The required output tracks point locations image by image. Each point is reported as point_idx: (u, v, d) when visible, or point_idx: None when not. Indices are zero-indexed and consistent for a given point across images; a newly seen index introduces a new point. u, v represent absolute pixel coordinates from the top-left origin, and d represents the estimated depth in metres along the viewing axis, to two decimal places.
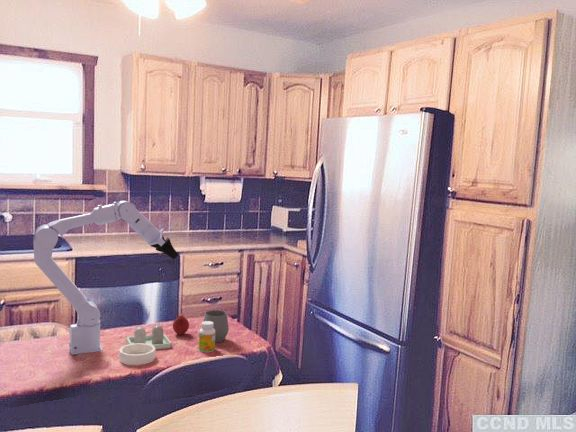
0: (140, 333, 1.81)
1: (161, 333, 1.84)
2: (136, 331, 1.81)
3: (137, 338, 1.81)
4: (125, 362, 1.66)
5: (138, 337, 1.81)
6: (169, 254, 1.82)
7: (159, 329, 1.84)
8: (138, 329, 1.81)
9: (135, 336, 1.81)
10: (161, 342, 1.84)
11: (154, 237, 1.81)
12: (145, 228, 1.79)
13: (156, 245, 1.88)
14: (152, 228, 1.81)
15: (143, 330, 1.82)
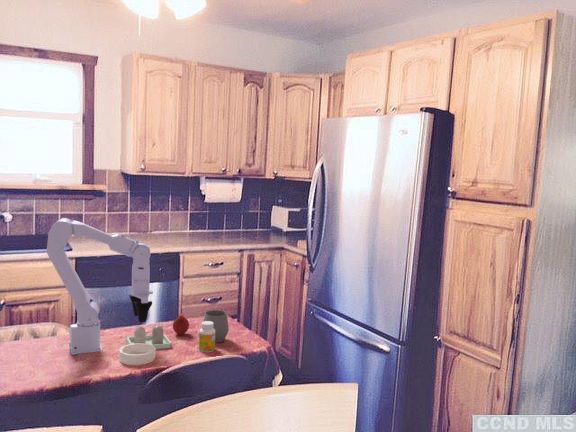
0: (140, 333, 1.81)
1: (161, 333, 1.84)
2: (136, 331, 1.81)
3: (137, 338, 1.81)
4: (125, 362, 1.66)
5: (138, 337, 1.81)
6: (140, 315, 1.77)
7: (159, 329, 1.84)
8: (138, 329, 1.81)
9: (135, 336, 1.81)
10: (161, 342, 1.84)
11: (141, 292, 1.78)
12: (140, 279, 1.78)
13: (133, 300, 1.84)
14: (146, 283, 1.79)
15: (143, 330, 1.82)
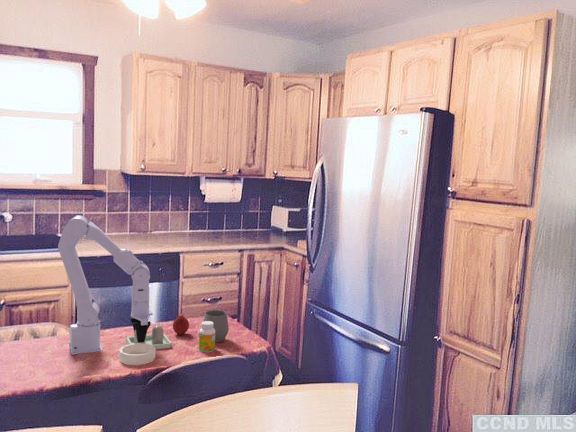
0: None
1: (161, 333, 1.84)
2: None
3: None
4: (125, 362, 1.66)
5: None
6: (138, 335, 1.80)
7: (159, 329, 1.84)
8: None
9: (135, 336, 1.81)
10: (161, 342, 1.84)
11: (141, 313, 1.79)
12: (140, 301, 1.78)
13: None
14: (146, 305, 1.80)
15: None
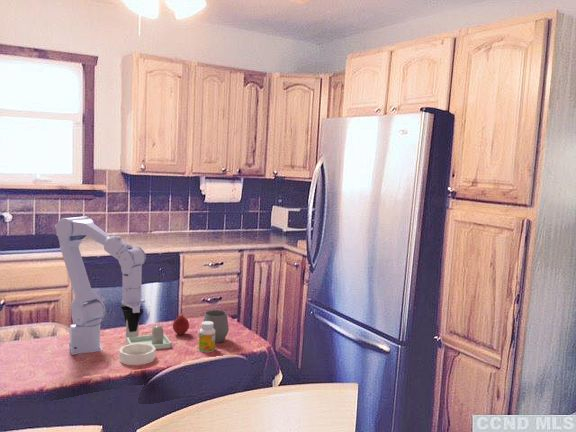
0: None
1: (161, 333, 1.84)
2: None
3: None
4: (125, 362, 1.66)
5: None
6: (130, 324, 1.67)
7: (159, 329, 1.84)
8: None
9: (127, 325, 1.68)
10: (161, 342, 1.84)
11: (133, 300, 1.66)
12: (125, 286, 1.66)
13: None
14: (138, 292, 1.67)
15: None
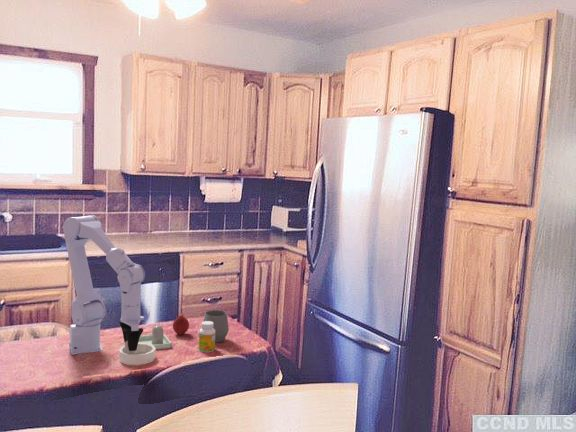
0: None
1: (161, 333, 1.84)
2: (127, 343, 1.68)
3: (128, 351, 1.68)
4: (125, 362, 1.66)
5: None
6: (130, 343, 1.65)
7: (159, 329, 1.84)
8: None
9: (126, 349, 1.68)
10: (161, 342, 1.84)
11: (131, 318, 1.66)
12: (124, 304, 1.66)
13: (123, 326, 1.72)
14: (137, 309, 1.67)
15: None
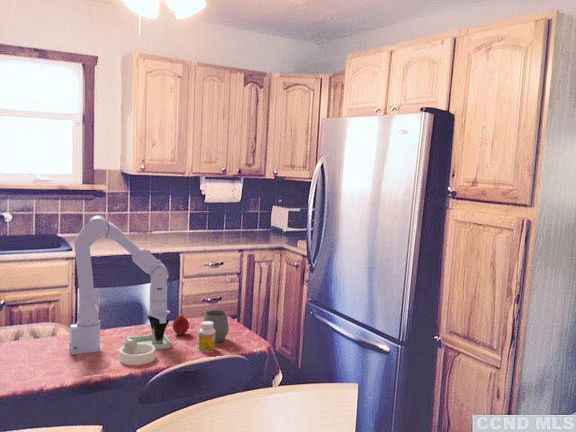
0: (132, 346, 1.68)
1: None
2: (127, 344, 1.68)
3: (129, 351, 1.68)
4: (125, 362, 1.66)
5: (130, 350, 1.68)
6: (156, 333, 1.82)
7: None
8: (129, 341, 1.68)
9: (126, 349, 1.68)
10: (161, 342, 1.84)
11: (159, 312, 1.82)
12: (159, 299, 1.81)
13: None
14: (164, 304, 1.83)
15: (135, 342, 1.69)
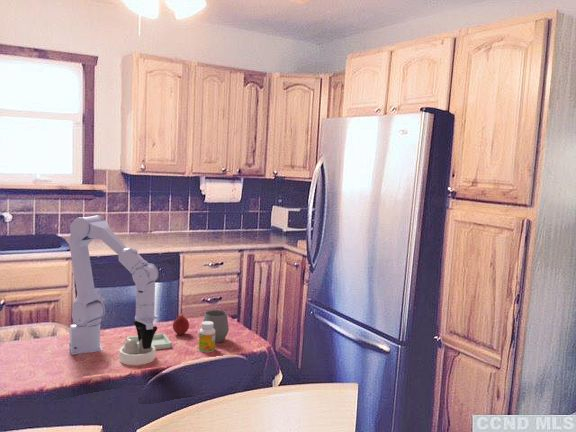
0: (132, 346, 1.68)
1: None
2: (128, 344, 1.68)
3: (129, 351, 1.68)
4: (125, 362, 1.66)
5: (130, 350, 1.68)
6: (144, 341, 1.68)
7: None
8: (129, 341, 1.68)
9: (127, 349, 1.68)
10: None
11: (146, 317, 1.68)
12: (140, 303, 1.68)
13: (138, 325, 1.74)
14: (151, 308, 1.69)
15: (135, 342, 1.69)
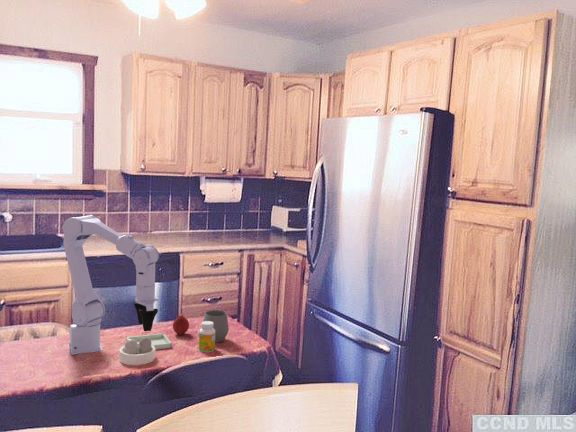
0: (133, 345, 1.68)
1: (149, 346, 1.71)
2: (128, 343, 1.68)
3: (130, 351, 1.68)
4: (125, 362, 1.66)
5: (131, 350, 1.68)
6: (144, 323, 1.67)
7: (147, 342, 1.71)
8: (130, 341, 1.69)
9: (127, 349, 1.68)
10: None
11: (146, 298, 1.68)
12: (140, 285, 1.67)
13: (138, 307, 1.73)
14: (152, 290, 1.69)
15: (135, 342, 1.70)
